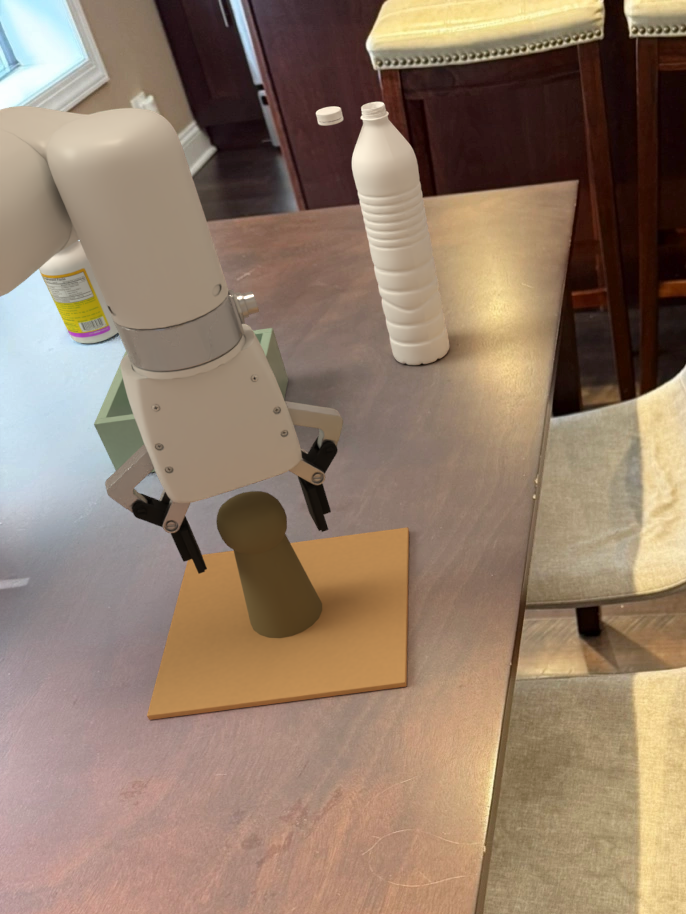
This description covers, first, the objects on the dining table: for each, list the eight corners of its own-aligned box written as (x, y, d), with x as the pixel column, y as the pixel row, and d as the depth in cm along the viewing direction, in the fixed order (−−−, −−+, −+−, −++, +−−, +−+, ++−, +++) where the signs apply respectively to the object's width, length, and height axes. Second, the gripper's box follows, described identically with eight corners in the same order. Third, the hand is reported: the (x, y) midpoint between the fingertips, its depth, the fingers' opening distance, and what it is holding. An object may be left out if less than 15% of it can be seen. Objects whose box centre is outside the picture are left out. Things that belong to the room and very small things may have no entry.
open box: (118, 477, 102) (93, 424, 98) (148, 398, 113) (126, 347, 109) (273, 456, 102) (255, 402, 97) (288, 378, 113) (272, 327, 108)
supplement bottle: (96, 318, 129) (51, 213, 120) (135, 323, 127) (92, 217, 118) (60, 342, 125) (10, 236, 116) (99, 348, 123) (52, 241, 114)
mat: (148, 720, 77) (146, 715, 77) (190, 560, 91) (188, 556, 90) (406, 686, 77) (405, 682, 76) (409, 531, 90) (408, 526, 90)
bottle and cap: (449, 335, 116) (406, 89, 98) (450, 361, 111) (405, 109, 93) (374, 345, 116) (317, 101, 98) (373, 372, 112) (313, 122, 93)
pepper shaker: (246, 602, 85) (201, 492, 77) (316, 582, 86) (279, 471, 78) (255, 646, 81) (208, 535, 73) (328, 625, 82) (290, 513, 74)
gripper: (293, 275, 70) (351, 484, 82) (42, 345, 66) (142, 553, 79) (323, 315, 65) (379, 531, 77) (53, 394, 61) (158, 607, 74)
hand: (260, 542), depth 78 cm, fingers open, 9 cm apart
